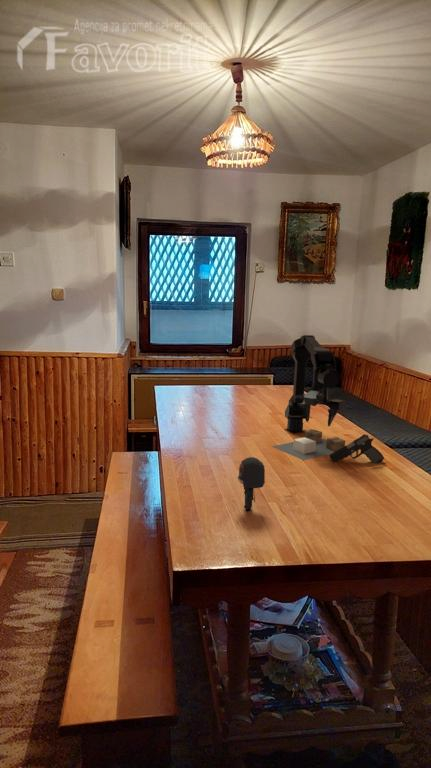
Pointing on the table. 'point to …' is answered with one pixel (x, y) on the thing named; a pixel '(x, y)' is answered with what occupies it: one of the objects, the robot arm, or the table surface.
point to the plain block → (304, 445)
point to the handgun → (358, 444)
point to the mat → (319, 451)
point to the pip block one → (314, 435)
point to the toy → (251, 478)
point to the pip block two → (335, 443)
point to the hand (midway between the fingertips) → (318, 423)
